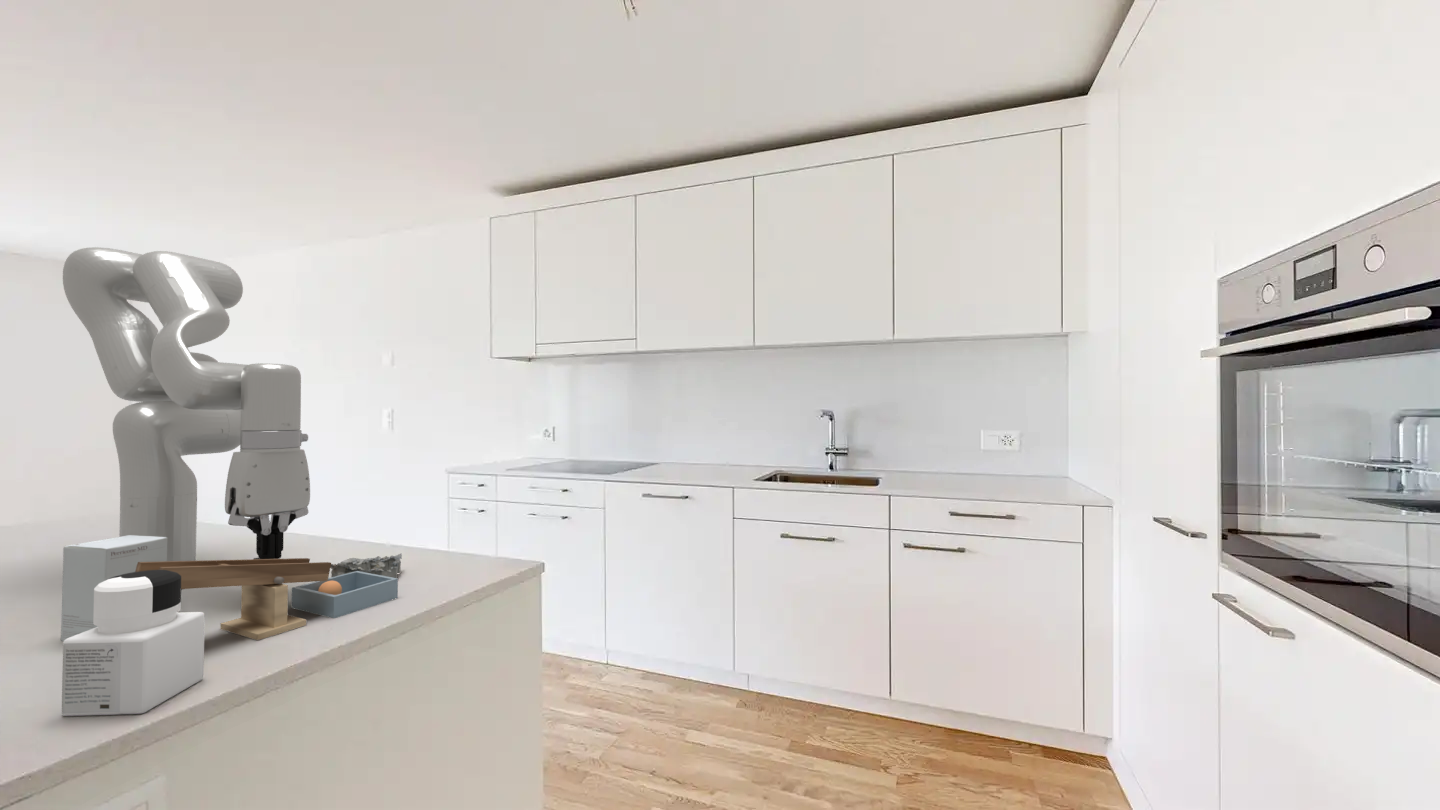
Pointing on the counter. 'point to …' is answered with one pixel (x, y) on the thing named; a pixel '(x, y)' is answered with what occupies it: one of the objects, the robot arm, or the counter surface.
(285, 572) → the lever
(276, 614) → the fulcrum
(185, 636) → the container
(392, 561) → the egg carton
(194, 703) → the counter surface
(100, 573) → the supplement box
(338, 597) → the dish
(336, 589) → the ball
